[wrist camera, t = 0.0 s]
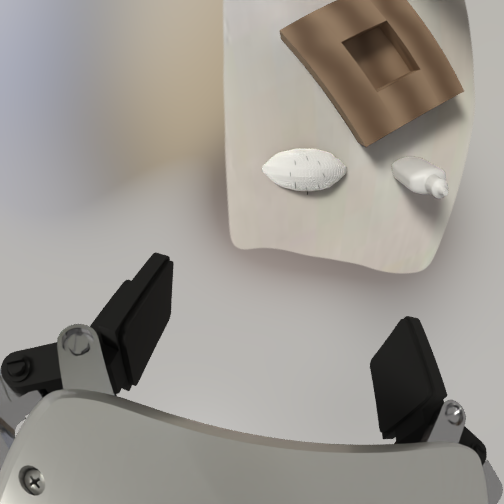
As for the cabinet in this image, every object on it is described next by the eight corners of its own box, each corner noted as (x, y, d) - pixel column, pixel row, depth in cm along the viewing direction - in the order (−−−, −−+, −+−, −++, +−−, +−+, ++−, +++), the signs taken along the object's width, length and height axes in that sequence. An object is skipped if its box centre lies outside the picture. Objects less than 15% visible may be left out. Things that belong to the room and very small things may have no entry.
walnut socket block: (380, -10, 21) (389, -20, 18) (448, 90, 27) (464, 91, 23) (281, 38, 29) (279, 30, 25) (358, 142, 34) (366, 147, 31)
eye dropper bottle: (418, 186, 36) (455, 217, 25) (387, 175, 36) (420, 203, 26) (426, 160, 34) (468, 183, 23) (395, 147, 34) (432, 166, 23)
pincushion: (263, 187, 40) (259, 200, 35) (261, 146, 37) (256, 153, 32) (345, 189, 38) (352, 202, 34) (346, 148, 35) (355, 155, 31)
